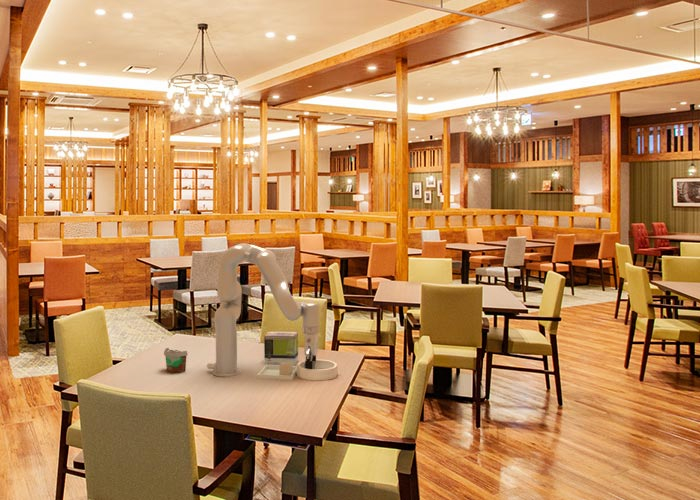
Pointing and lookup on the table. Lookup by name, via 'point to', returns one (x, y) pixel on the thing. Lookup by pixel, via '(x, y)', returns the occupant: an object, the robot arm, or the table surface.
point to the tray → (275, 373)
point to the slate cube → (313, 365)
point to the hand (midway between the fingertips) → (310, 366)
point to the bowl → (318, 370)
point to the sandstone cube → (286, 368)
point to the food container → (175, 360)
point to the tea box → (280, 347)
